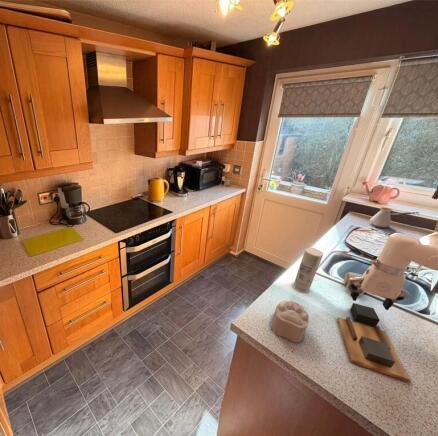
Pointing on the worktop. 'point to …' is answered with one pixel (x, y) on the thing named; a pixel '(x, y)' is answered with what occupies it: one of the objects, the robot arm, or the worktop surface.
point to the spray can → (307, 269)
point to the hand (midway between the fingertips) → (368, 302)
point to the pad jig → (371, 348)
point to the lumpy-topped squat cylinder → (290, 320)
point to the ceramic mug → (347, 284)
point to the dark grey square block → (364, 315)
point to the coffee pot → (384, 217)
